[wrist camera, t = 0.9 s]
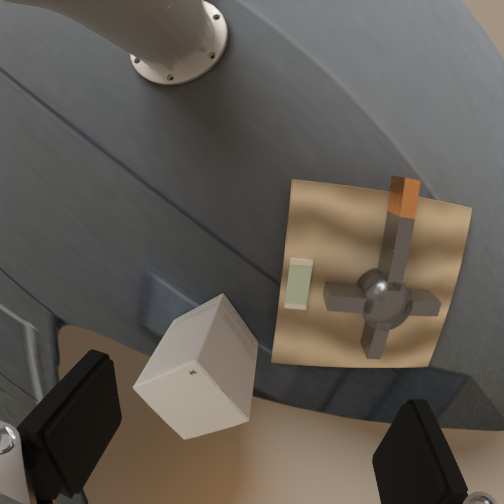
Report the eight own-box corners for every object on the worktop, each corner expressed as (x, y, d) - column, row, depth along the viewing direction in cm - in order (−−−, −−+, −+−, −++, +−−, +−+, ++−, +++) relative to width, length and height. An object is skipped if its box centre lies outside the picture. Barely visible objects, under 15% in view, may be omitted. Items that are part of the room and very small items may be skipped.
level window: (290, 257, 36) (290, 259, 36) (312, 259, 36) (313, 261, 35) (284, 305, 38) (284, 308, 37) (305, 307, 38) (305, 309, 37)
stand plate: (291, 179, 35) (292, 179, 34) (466, 206, 34) (472, 208, 32) (271, 356, 42) (271, 363, 40) (424, 361, 41) (427, 367, 39)
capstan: (338, 167, 33) (348, 168, 28) (445, 186, 32) (465, 190, 27) (313, 335, 39) (317, 357, 34) (410, 339, 38) (422, 358, 33)
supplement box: (171, 319, 42) (128, 386, 27) (224, 291, 40) (196, 358, 26) (208, 366, 44) (182, 442, 29) (260, 343, 42) (251, 422, 27)
